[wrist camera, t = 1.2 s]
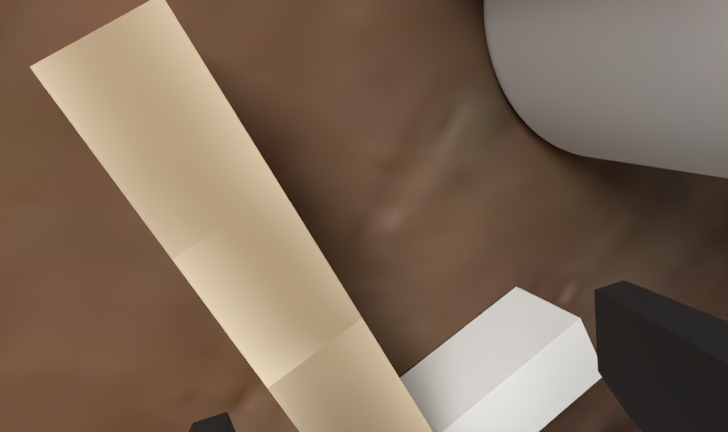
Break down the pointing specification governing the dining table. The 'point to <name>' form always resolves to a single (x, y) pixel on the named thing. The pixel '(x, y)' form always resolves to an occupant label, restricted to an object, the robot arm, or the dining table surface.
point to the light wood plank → (225, 220)
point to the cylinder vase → (618, 77)
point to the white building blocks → (505, 369)
